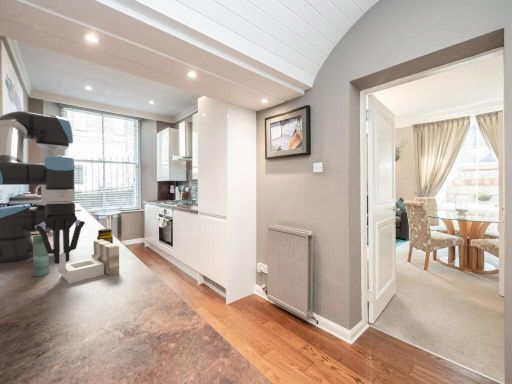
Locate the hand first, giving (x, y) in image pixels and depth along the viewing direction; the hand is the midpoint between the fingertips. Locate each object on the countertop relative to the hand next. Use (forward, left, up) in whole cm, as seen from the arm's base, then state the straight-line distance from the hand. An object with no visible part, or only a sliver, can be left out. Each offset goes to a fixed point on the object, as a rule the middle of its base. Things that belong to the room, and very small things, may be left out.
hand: (61, 272), depth 77 cm
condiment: (-21, +19, -3) cm, 28 cm away
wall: (0, +13, -3) cm, 13 cm away
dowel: (-13, -3, -3) cm, 14 cm away
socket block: (0, +6, -3) cm, 6 cm away
